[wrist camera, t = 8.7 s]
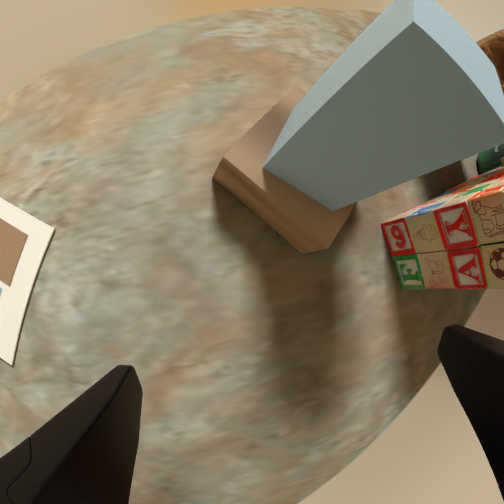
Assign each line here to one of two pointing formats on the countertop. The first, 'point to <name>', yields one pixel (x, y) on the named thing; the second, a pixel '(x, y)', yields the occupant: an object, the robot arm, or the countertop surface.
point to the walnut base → (277, 185)
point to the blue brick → (391, 109)
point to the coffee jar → (491, 159)
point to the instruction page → (18, 270)
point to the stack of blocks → (452, 238)
